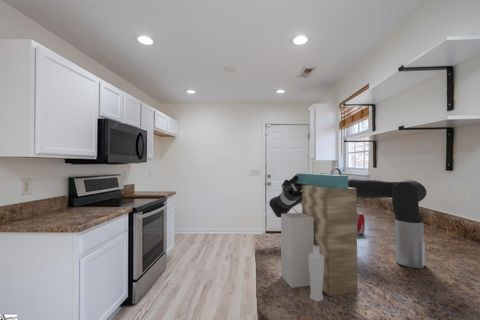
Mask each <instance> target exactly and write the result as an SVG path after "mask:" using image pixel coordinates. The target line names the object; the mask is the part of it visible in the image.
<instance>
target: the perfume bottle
mask: <svg viewBox="0 0 480 320" xmlns="http://www.w3.org/2000/svg"><path fill="white" fill-rule="evenodd" d="M312 247H313V252H312V253H310V254H309V255H308V260H309V274H310V287H309V288H310V293H309V299H311V300H313V301H315V302H319V301H323V300H324V297H323V296H324V295H323V290H322V286H323V272H324V256H323V255H321V254H320V253H319V248H320V247H319V246H318V245H313V246H312Z"/></svg>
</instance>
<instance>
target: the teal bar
mask: <svg viewBox="0 0 480 320" xmlns="http://www.w3.org/2000/svg"><path fill="white" fill-rule="evenodd" d="M296 175H298V178H299V180H298V181H297V183H300V184H307V185H314V186H321V187H328V188H335V189H348V180H349V175H341V174H329V175H327V174H321V173H308V172H307V173H305V172H304V173H303V172H302V173H296Z"/></svg>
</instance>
